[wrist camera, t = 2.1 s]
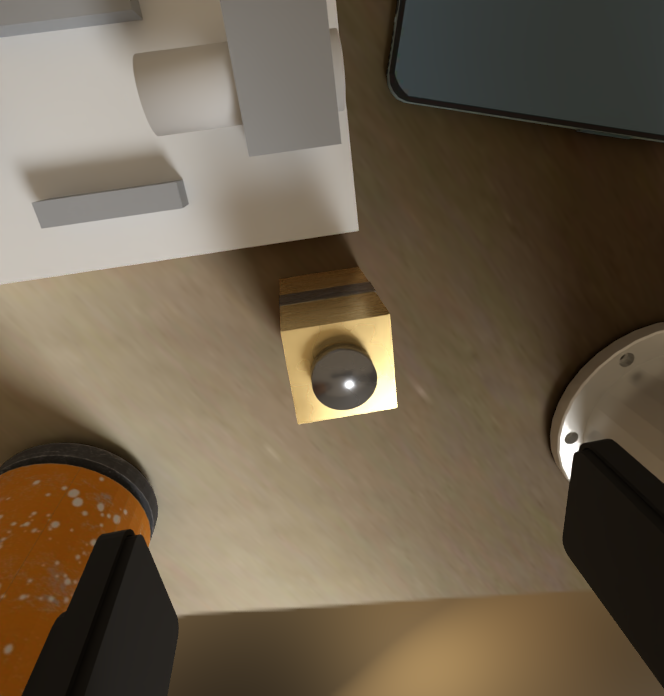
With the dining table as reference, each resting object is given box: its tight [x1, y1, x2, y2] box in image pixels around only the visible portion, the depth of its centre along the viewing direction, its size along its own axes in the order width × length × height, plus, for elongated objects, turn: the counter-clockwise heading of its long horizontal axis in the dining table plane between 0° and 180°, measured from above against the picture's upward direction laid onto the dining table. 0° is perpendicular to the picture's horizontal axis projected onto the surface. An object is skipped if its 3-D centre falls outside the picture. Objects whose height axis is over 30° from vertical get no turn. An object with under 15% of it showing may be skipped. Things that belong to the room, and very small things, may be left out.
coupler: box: [279, 267, 397, 424], centre depth 20 cm, size 4×4×8 cm
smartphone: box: [387, 0, 664, 143], centre depth 19 cm, size 8×2×15 cm
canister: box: [0, 443, 158, 696], centre depth 18 cm, size 9×11×20 cm
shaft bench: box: [0, 0, 359, 285], centre depth 16 cm, size 20×12×6 cm, turn 97°
